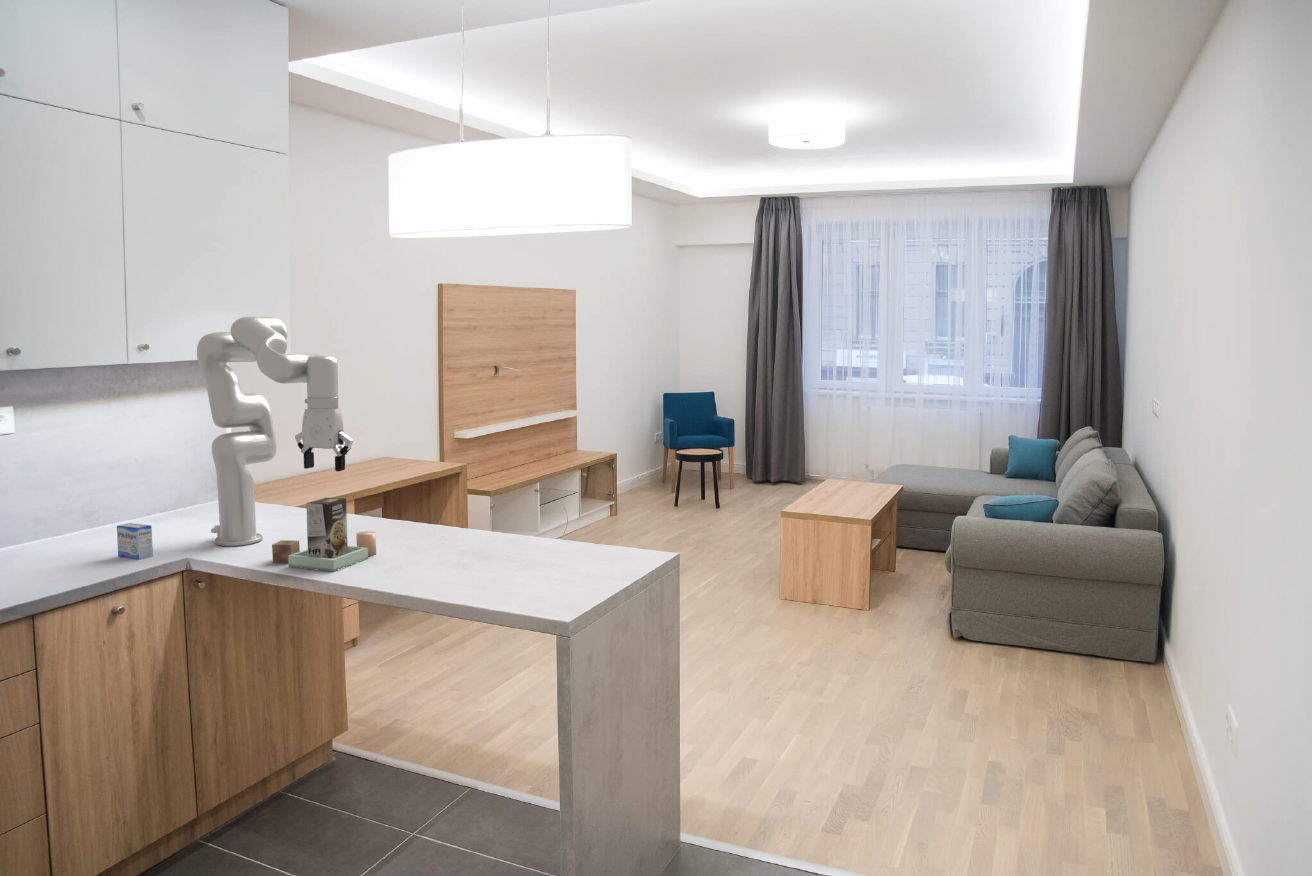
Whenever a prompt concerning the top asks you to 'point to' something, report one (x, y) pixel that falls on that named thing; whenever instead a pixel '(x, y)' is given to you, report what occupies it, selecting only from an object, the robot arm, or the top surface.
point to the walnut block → (284, 550)
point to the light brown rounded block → (367, 541)
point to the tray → (325, 563)
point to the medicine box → (134, 541)
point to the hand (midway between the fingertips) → (324, 469)
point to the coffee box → (327, 528)
